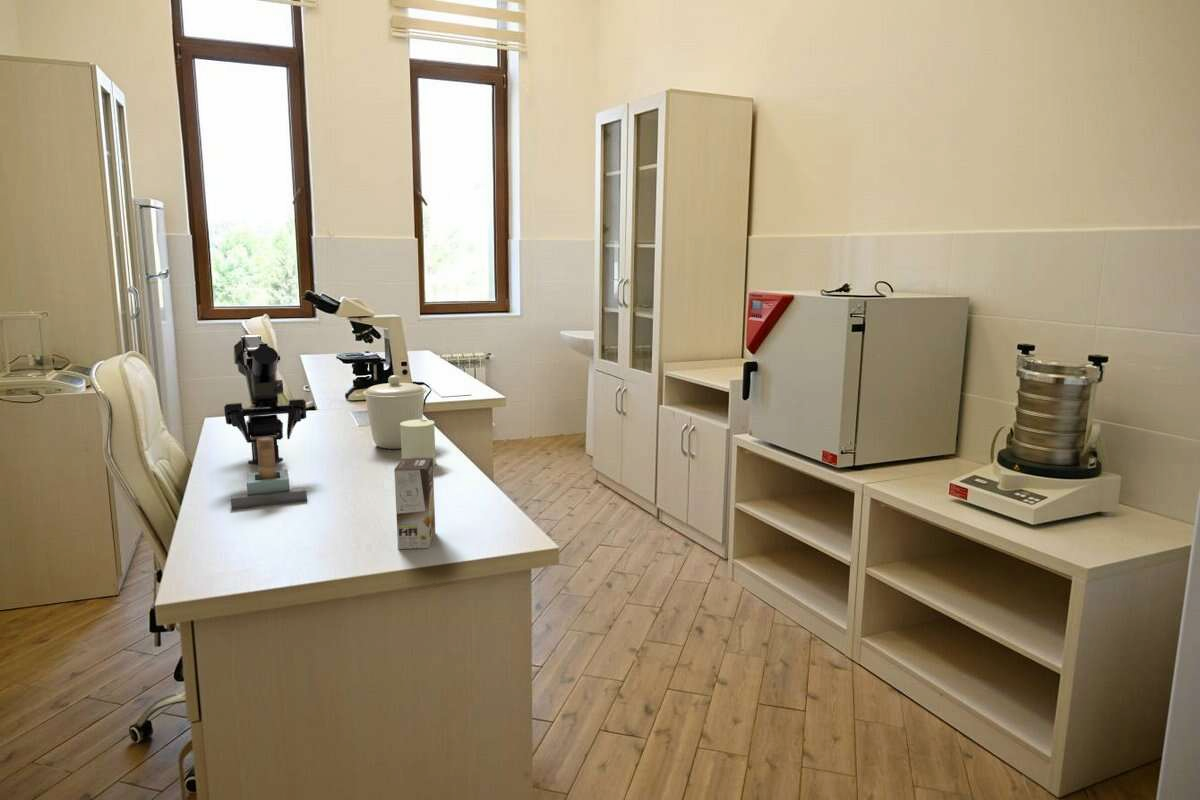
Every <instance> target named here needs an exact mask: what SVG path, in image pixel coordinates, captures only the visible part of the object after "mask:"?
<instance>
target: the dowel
mask: <svg viewBox="0 0 1200 800" xmlns="http://www.w3.org/2000/svg"><path fill="white" fill-rule="evenodd" d="M257 451H258V464H257V465H258V472H259V478H260V480H265V479H274V478H276V469H277V468H276V462H275V454H274V439H273V438H271V437H265V438H259V439H257Z"/></svg>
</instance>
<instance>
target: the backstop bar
mask: <svg viewBox="0 0 1200 800" xmlns="http://www.w3.org/2000/svg"><path fill="white" fill-rule="evenodd" d="M307 493H308V491H307V487H306V488H302V487H301V488H295V489H290V490H284V491H275V492H266V493H257V494H241V495H231V496H230V509H233V510H239V509H238V508H241V509H247V508H246V507H250V508H257V507H258V508H259V507H266V506H273V505H274V504H275V505H282V504H292V503H298V502H299V503H300V502H306V501H308V494H307Z"/></svg>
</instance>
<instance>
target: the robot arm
mask: <svg viewBox="0 0 1200 800" xmlns="http://www.w3.org/2000/svg"><path fill="white" fill-rule="evenodd" d="M240 336H241V337H240V340H239V341H238V342H237V343H236V344H235V345H234V346H233V361H234V365H236V366H237V370H238V373H240V374H241V375H243V376H245V381H246V385H247V390H248V395H249V401H250V407H243V404H242V402H234V403H226V404H225V405H224V406H223V408H224V410H223V411H224V416H225V423H226V425H229V426H230V425H231V426H232V427H233V428H234V427H235V428H237V429H238V430H239V431H240V432H241V434H242V436H243V437H244V440H245V441H246V443H248V444H250V443H251V445H250V446H251V456H252V459H251V460H248V461H247V462H248V464H254V463H255V465H258V451H257V439H259V438H265V437H271V438H273V439H274V454H275V463H276V462H280V461H283V460H284V458H283V457H280V453H279V445H278V440H282V439H283V438H284V434H283V431H284V429H283V428H284V422H282V420H281V417H278V415H284V414H285V415H286V414H287V429H286V436H287V437H286V438H287V440H290V438H291V437H292V433H293V430H294V428H295V426H296V424H297V423H299V422H301V421H302V420H305V419H306V418H307V403H306V402H307V401H306V400H305V399H304V398H293V399H288V405H287V404H285V405H279V397H278V396H279V395H282V394H284V383H283V379H278V380H277V378H276V377H277V376H276V374H277V369H278V364H279V361H281V356H280V355H279V353H278V351H276V349H274V348H273V347H272V346H271V345H268V343H264V342H263V341H262V336H261V334H258V333H257V334H255V333H254V334H243V335H240ZM245 417H247V419H248V420H246V419H245Z"/></svg>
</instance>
